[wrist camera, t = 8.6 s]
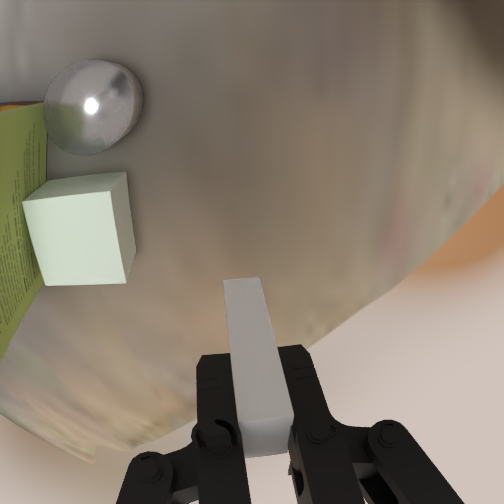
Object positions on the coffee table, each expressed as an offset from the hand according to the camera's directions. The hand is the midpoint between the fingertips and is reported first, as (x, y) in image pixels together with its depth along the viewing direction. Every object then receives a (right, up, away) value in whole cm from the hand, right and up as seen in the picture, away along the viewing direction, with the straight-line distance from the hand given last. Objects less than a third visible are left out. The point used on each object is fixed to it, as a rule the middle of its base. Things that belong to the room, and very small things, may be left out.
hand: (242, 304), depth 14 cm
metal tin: (-11, +13, +6) cm, 18 cm away
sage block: (-13, +5, +10) cm, 17 cm away
